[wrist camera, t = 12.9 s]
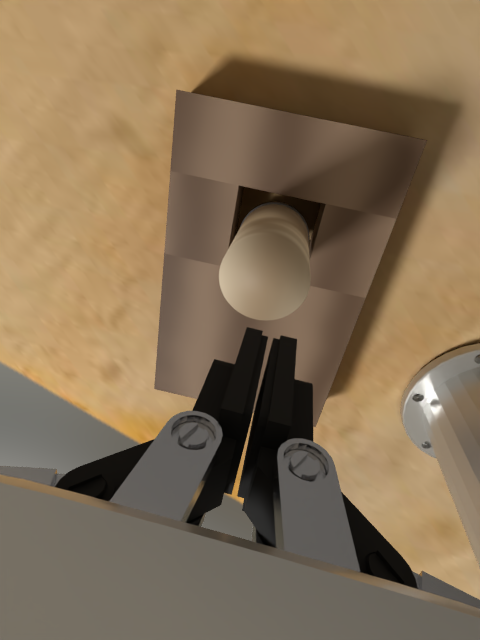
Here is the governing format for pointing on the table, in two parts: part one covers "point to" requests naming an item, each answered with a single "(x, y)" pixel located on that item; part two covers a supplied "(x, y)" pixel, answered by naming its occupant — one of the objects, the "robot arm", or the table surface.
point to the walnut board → (221, 223)
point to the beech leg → (267, 263)
